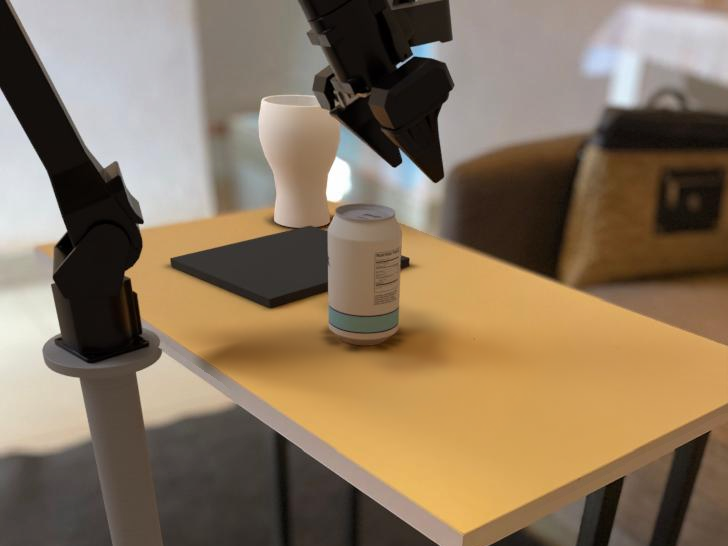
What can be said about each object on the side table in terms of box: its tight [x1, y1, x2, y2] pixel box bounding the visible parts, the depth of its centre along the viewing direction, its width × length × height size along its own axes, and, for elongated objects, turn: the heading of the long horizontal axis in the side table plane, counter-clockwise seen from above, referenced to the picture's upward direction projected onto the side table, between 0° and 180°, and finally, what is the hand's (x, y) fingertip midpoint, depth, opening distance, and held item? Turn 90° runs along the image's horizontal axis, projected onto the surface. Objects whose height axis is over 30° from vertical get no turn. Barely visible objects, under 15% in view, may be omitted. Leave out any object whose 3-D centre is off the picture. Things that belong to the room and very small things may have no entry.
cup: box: [257, 94, 341, 229], centre depth 112 cm, size 11×11×15 cm
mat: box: [169, 226, 411, 309], centre depth 100 cm, size 22×18×1 cm
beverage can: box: [327, 202, 403, 346], centre depth 80 cm, size 7×7×12 cm
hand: (417, 172), depth 79 cm, fingers open, 9 cm apart
